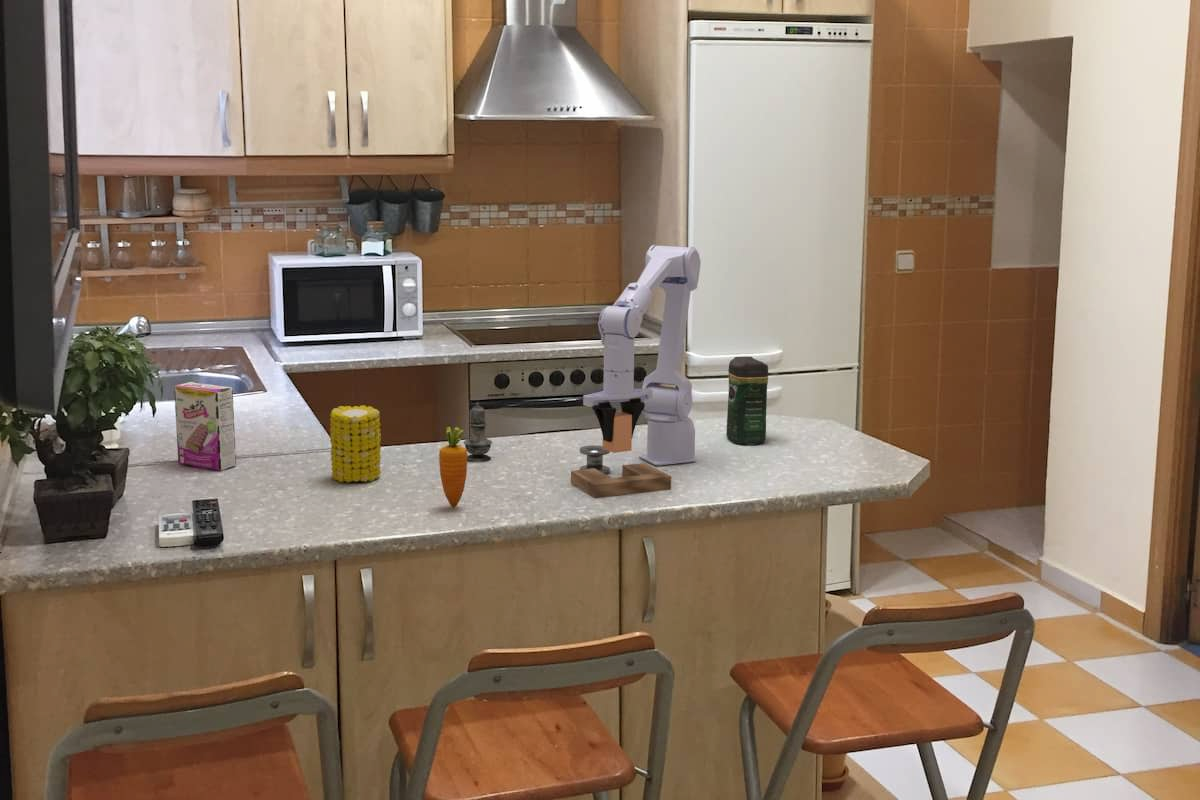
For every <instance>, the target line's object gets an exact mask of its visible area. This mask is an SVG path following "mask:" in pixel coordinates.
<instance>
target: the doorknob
mask: <svg viewBox="0 0 1200 800" xmlns="http://www.w3.org/2000/svg"><path fill="white" fill-rule="evenodd" d="M579 453H580V454H582V455H585V456H586V464H585V465H582V466H580V467H579V470H583V469H593V468H595V469H597V470H598V471H600V472H602V473H604V474H606V475H607V474H609V473H610V471H611V470H610V466H606V465H603V464H604V463H603V462H604V461H603V460H604V458H603V457H604V455H605V456H606V455H608V454H610V453H611V452H610V451H607V450H605V449H603V445H597V444H596V445H595V444H594V445H584V446H581V447H580V448H579Z"/></svg>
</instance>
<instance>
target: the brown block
mask: <svg viewBox="0 0 1200 800" xmlns="http://www.w3.org/2000/svg"><path fill="white" fill-rule="evenodd" d="M632 439H633V437H632V415H631V414H628V413H625V412H622V410H618V411H617V410H616V413H615V417H614V422H613V438H612V442H607V441H605V440H603V439H602V446H603V449H605V450H607V451H610V453H612V454H616V453H617V454H618V453H625V452H630V451H632V441H633V440H632Z"/></svg>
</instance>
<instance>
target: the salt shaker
mask: <svg viewBox="0 0 1200 800" xmlns="http://www.w3.org/2000/svg"><path fill="white" fill-rule="evenodd" d="M485 412H486V411H485V408H484V407H483V406H481V405H480V403H479V402H478V401H477V402H476V403H475V406H472V407H471V409H470V422H469V423H468V425H469V426H470V427H469V428H470V429H469V430H470V435H469V438H468V439H466V440H464V441H463V444H464V448H465V449H466V451H467V453H468V454H469V455H467V462H472V463H483V462H489V461H490V460H492V459H491V458H492V457H491V456H489V455H488V452H489V451H490V449H491V445H492V444H493V441H492V440H491V439H489V438H487V436H486V426H487V422H486V417H485V415H486V413H485Z"/></svg>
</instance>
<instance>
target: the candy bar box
mask: <svg viewBox="0 0 1200 800" xmlns="http://www.w3.org/2000/svg"><path fill="white" fill-rule="evenodd" d="M173 392H174V408H175V409H174V410H175V424H176V428H175V429H176V441H177V443H176V444H177V461H178V462H177V464H178V465H179V466H186V467H191V468H199V469H204V470H205V469H206V470H210V471H211V470H212V471H218V472H223V471H226V470H229V469H231V468H234V467H237V456H236V455H237V453H236V452H237V451H236V441H235V440H236V434H235V414H234V413H235V412H234V390H233V387H231V386H225V385H217V384H210V383H209V384H208V383H203V382H202V383H200V382H195V381H188V382H184V383H180V384H179V383H178V384H175V385H174V386H173Z"/></svg>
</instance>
